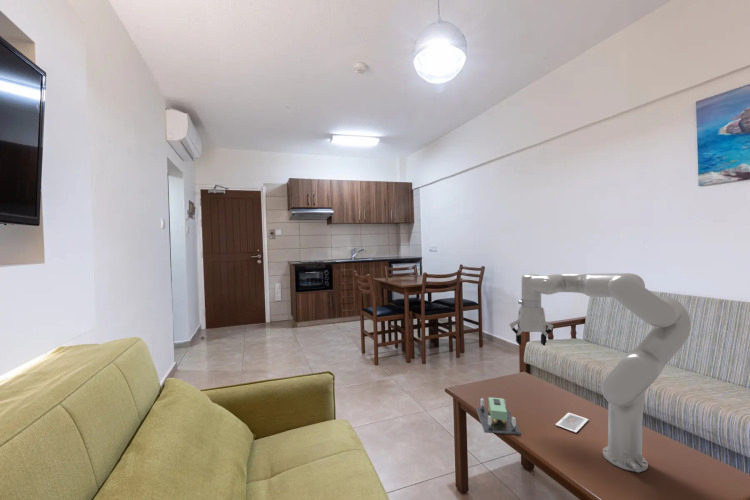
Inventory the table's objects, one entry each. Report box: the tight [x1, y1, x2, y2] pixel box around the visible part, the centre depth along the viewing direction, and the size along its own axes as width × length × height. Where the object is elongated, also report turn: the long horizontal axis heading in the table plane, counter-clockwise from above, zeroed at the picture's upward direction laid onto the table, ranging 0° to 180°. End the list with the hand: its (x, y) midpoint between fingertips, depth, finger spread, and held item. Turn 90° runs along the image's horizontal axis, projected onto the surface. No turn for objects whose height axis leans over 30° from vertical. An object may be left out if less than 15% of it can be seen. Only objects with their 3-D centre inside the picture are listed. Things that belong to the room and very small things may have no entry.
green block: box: [488, 396, 507, 421], centre depth 141 cm, size 12×6×4 cm, turn 166°
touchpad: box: [555, 412, 589, 433], centre depth 140 cm, size 8×15×2 cm, turn 131°
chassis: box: [476, 397, 522, 435], centre depth 141 cm, size 18×14×6 cm
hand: (531, 344), depth 140 cm, fingers open, 9 cm apart
